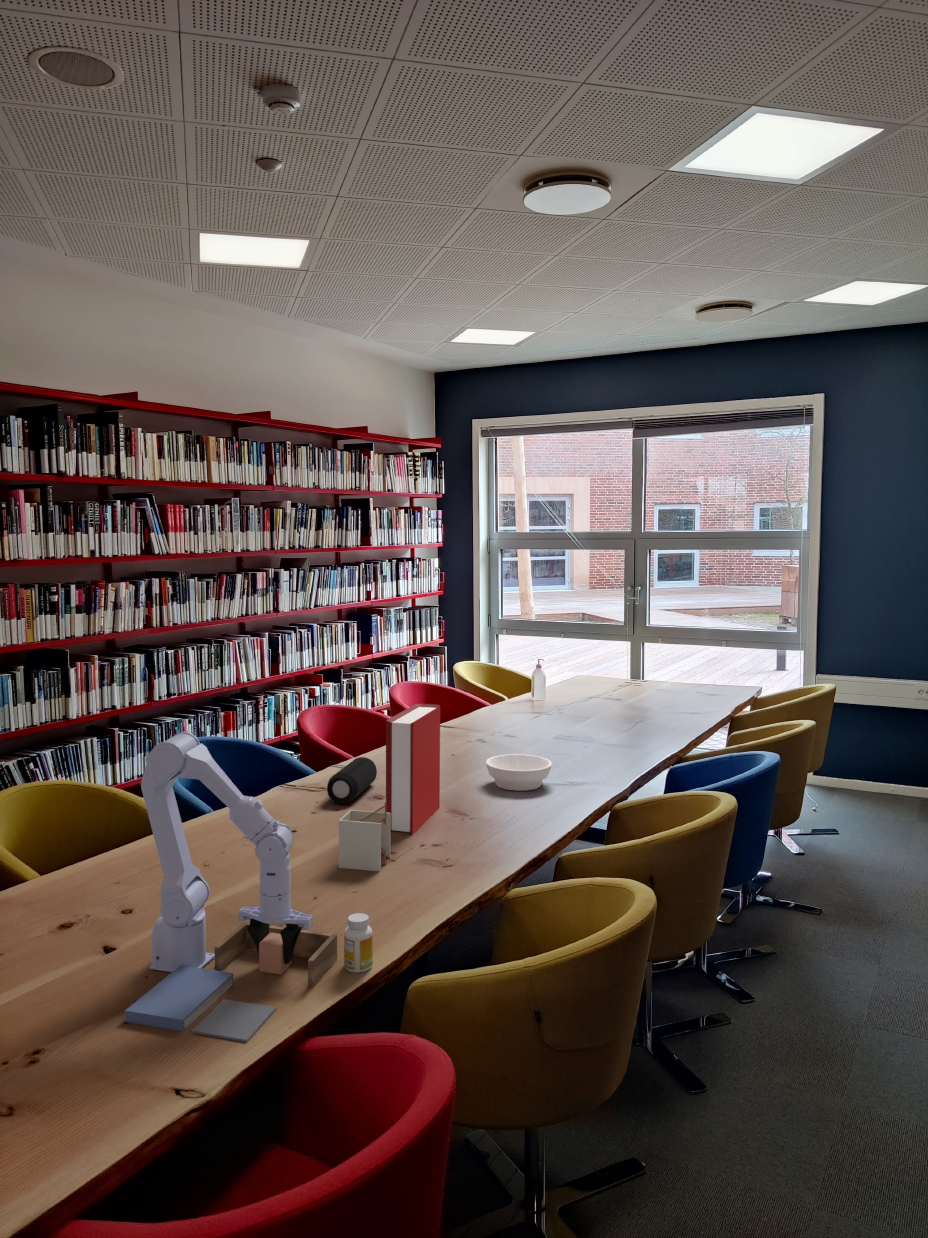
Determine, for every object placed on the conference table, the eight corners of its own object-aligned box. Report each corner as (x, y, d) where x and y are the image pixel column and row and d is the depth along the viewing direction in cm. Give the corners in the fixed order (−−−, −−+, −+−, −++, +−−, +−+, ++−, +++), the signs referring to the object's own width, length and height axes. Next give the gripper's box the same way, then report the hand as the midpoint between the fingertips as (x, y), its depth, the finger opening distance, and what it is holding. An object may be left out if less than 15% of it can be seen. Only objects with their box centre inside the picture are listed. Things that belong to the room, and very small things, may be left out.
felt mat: (192, 1033, 138) (192, 1030, 138) (224, 1001, 147) (224, 999, 147) (247, 1042, 135) (247, 1040, 135) (276, 1010, 145) (276, 1007, 145)
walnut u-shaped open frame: (215, 972, 157) (214, 947, 157) (244, 946, 168) (244, 922, 167) (313, 987, 152) (313, 961, 152) (337, 959, 163) (337, 934, 162)
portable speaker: (351, 783, 286) (351, 754, 285) (379, 785, 284) (379, 756, 283) (324, 805, 261) (324, 773, 260) (354, 807, 259) (354, 775, 258)
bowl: (519, 773, 300) (520, 750, 299) (565, 788, 282) (566, 763, 282) (471, 784, 285) (471, 760, 285) (516, 800, 268) (517, 774, 267)
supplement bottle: (373, 959, 163) (373, 911, 162) (371, 973, 157) (371, 923, 157) (345, 959, 163) (345, 911, 162) (342, 973, 157) (342, 923, 156)
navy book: (183, 1034, 138) (182, 1020, 138) (125, 1025, 141) (125, 1010, 141) (233, 986, 153) (233, 973, 153) (180, 978, 156) (180, 965, 156)
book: (412, 835, 234) (413, 722, 231) (385, 832, 236) (386, 720, 234) (440, 806, 260) (441, 705, 258) (416, 804, 262) (416, 703, 260)
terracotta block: (259, 971, 158) (259, 943, 157) (270, 960, 162) (270, 932, 162) (281, 974, 157) (281, 946, 156) (292, 963, 161) (291, 935, 161)
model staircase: (380, 873, 207) (381, 807, 206) (338, 869, 210) (338, 804, 208) (390, 860, 216) (391, 797, 215) (350, 857, 218) (350, 794, 217)
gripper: (319, 886, 160) (319, 955, 161) (251, 878, 164) (251, 945, 165) (303, 901, 153) (303, 972, 155) (232, 892, 157) (233, 962, 158)
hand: (275, 960), depth 159 cm, fingers closed on terracotta block, 4 cm apart
